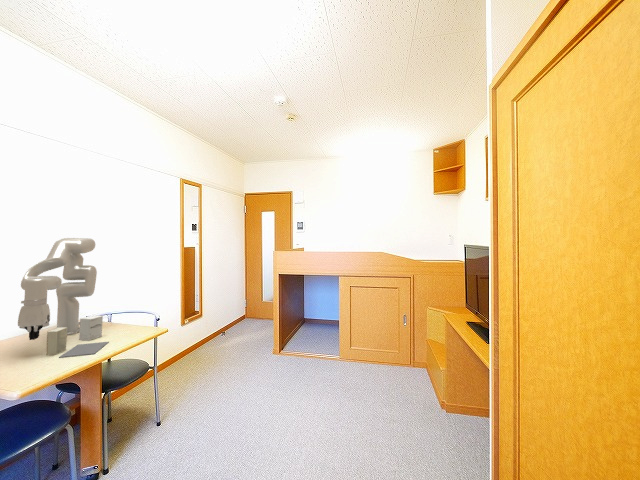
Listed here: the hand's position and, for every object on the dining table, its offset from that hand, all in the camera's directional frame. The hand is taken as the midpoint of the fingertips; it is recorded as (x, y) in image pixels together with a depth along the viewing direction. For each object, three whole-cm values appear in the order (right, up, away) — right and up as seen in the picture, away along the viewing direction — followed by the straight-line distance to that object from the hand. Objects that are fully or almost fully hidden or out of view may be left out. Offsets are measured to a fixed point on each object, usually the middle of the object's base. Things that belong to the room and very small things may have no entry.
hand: (33, 338), depth 123 cm
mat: (+19, -9, +7) cm, 22 cm away
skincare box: (+8, -9, +3) cm, 12 cm away
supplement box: (+7, -9, +23) cm, 26 cm away
